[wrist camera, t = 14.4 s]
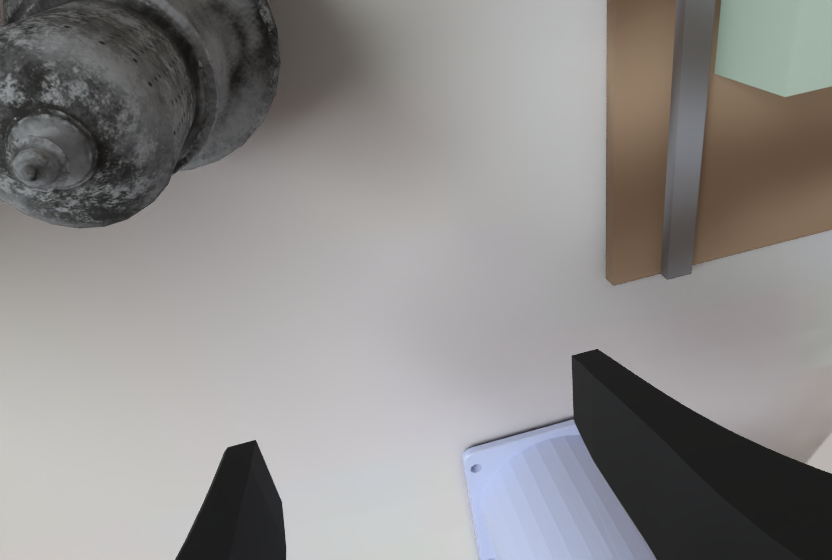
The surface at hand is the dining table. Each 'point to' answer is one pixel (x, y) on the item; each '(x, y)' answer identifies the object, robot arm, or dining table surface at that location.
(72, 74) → the salt shaker
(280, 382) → the dining table surface
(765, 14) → the sage socket block
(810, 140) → the walnut board
